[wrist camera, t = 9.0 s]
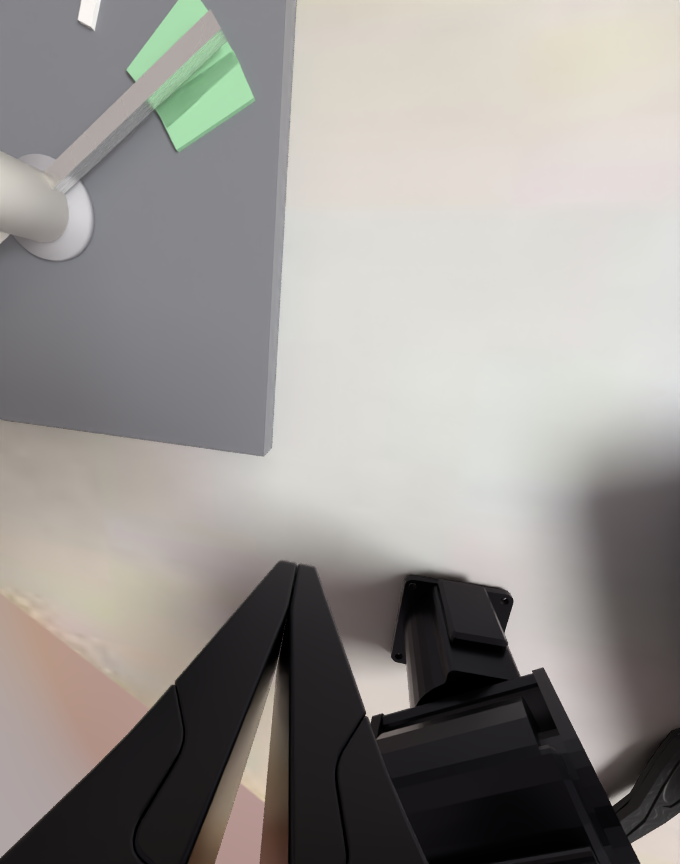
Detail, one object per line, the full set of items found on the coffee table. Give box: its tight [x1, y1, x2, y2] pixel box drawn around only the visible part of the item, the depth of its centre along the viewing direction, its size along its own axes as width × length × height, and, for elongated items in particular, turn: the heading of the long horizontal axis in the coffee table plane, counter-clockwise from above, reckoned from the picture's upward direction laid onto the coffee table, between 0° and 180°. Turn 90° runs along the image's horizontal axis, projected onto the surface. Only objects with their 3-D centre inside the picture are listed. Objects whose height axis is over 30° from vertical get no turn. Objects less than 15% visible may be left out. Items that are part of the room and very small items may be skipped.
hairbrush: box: [612, 728, 680, 844], centre depth 25 cm, size 8×4×25 cm
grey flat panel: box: [0, 0, 297, 456], centre depth 17 cm, size 22×22×2 cm
